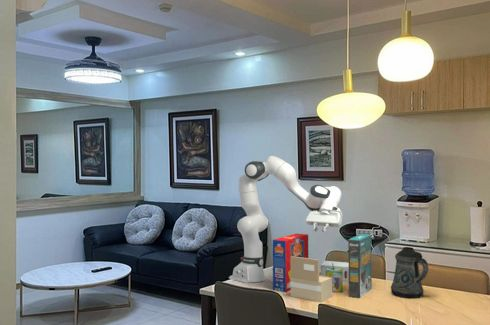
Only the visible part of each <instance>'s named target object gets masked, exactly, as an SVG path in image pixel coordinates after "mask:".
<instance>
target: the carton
mask: <svg viewBox="0 0 490 325" xmlns="http://www.w3.org/2000/svg"><path fill="white" fill-rule="evenodd" d="M290 286H291V290H290V297H293V298H298V299H302V300H308V301H313V302H319V303H323V302H324V301H326V300H328V299H330V298H332V297H333V292H332V278H331V277H327V276H321V274H319V282H315V281H309V280H302V279H296V278H291V282H290Z"/></svg>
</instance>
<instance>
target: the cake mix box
mask: <svg viewBox="0 0 490 325" xmlns="http://www.w3.org/2000/svg"><path fill="white" fill-rule="evenodd" d="M347 241H348V263H349V282H348V297H349V298H354V299H361V298H363V297H364V296H365V295H366V294H367V293H369V291H372V284H373V283H372V282H373V281H372V276H373V275H372V234H366V233H365V234H363V233H360V234H357V235H356V236H354V237H351V238H349V239H348V240H347Z"/></svg>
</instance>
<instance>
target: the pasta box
mask: <svg viewBox="0 0 490 325" xmlns="http://www.w3.org/2000/svg"><path fill="white" fill-rule="evenodd" d="M291 256H294V257H301V258H309V234H306V233H293V234H289V235H285V236H282V237H281V236H280V237H279V238H275V239H272V291H276V292H280V293H287V292H291V286H290V282H291Z"/></svg>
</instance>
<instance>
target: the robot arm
mask: <svg viewBox="0 0 490 325" xmlns="http://www.w3.org/2000/svg"><path fill="white" fill-rule="evenodd" d="M296 172H297V171H296V169H295V167H293V166H292V165H291V164H290V163H288V162H286V161H285V160H284V159H282V158H280V157H277V156H276V155H270V156H268V157H267V158H266V159H265V160H264V161H263V160H262V161H260V160H254V161H253V160H252V161H249V162H248V163H246V164H245V166H244V174H242V175H241V176H240V177H239V178H238V192H239V193H238V194H239V200H240V205H241V208H242V209H243V210H244V212H245V214H246V216H243V217H242V218H240V219H239V220H238V222H237V224H236V226H237V230H238V232H239V233H240V234H241V236H242V241H243V250H244V252H243V253H244V255H242V257H240V260H241V262H240V263H238V265H236V266H235V267H234V268H233V271H232V275H230V276H228V279H230V280H234V281H237V282H240V283H244V284H245V283H260V282H265V281H266V278H265V277H266V276H265V273H264V256H263V241H261V240H260V236H259V233H261V232H263V231H264V230H265V229H267V228H268V227H269V226H268V225H269V219H268V217H267V216H266V215H265V214H264V212H263V209H262V207H261V204H260V200H259V193H258V188H257V187H258V186H257V185H258V184H257V182H260V181H262V180H264V179H266V178H267V177H268V176H269V175H272V176H273V177H274V178H276V179H277V180H279V181H280V182H281V183H282V185H284V186H285V187H286V189H287V190H288V191H289V192H291V193H292V195H294V196H295V197H297V199H299V200H300V201H301V202H302V203H303V204H304V206H306V208H307V209H308V210H309V211H310V212H309V213H308V215H307V217H306V218H305V221H306V222H305V223H306V224H307V225H309V226H313V231H314V232H318V230H319V229H318V226H319V227H322V229H321V231H322V233H326V231H327V230H328V229H329V228H330V227H331V228H339V227H341V225H342V222H343V216H344V214H343V212H342V210H341V208H339V206H340V203H341V200H342V191H341V189H340V188H339V187H338V186H333V185H332V186H324V185H321V184H314V185H312V186H310V188H309V189H310V190H309V192H308V191H307V190H306V189H304V188H303V187H302V185H300V183H299V182H298V178H297V173H296Z"/></svg>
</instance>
